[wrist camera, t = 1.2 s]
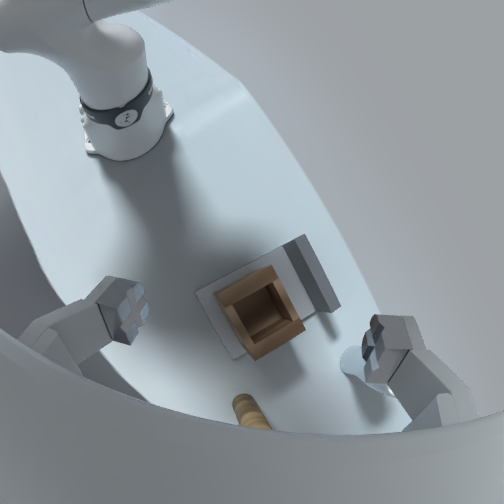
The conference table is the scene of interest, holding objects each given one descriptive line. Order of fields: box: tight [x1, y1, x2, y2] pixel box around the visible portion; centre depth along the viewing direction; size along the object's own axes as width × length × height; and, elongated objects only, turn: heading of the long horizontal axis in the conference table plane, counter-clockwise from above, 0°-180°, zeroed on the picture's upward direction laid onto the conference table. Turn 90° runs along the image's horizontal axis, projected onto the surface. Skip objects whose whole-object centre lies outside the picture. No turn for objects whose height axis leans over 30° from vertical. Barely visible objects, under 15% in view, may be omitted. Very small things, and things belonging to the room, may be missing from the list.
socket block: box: [213, 265, 306, 361], centre depth 40 cm, size 10×8×10 cm
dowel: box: [232, 394, 272, 430], centre depth 35 cm, size 4×4×16 cm
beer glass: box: [340, 346, 396, 398], centre depth 41 cm, size 7×7×15 cm
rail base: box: [195, 234, 341, 360], centre depth 43 cm, size 13×19×7 cm
